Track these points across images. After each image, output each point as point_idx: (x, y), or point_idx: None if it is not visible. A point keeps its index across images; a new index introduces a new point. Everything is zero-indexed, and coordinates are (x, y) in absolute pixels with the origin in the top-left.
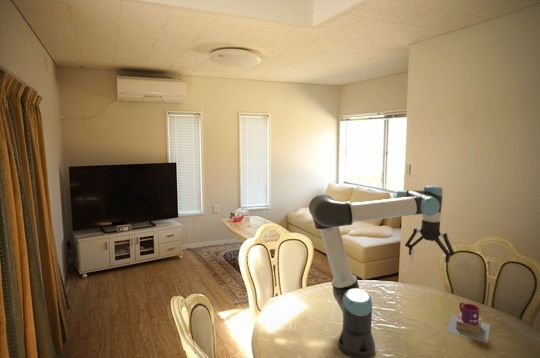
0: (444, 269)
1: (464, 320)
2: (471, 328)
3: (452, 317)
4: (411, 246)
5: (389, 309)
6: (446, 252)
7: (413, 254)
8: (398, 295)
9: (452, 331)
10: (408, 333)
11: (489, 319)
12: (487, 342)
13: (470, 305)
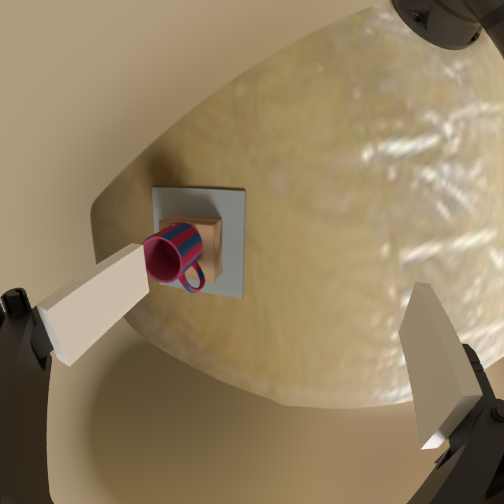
0: (128, 245)
1: (190, 228)
2: (180, 219)
3: (239, 281)
4: (493, 432)
5: (416, 249)
6: (6, 327)
7: (423, 367)
8: (391, 345)
9: (229, 199)
10: (343, 124)
11: (167, 309)
12: (152, 191)
13: (166, 278)
